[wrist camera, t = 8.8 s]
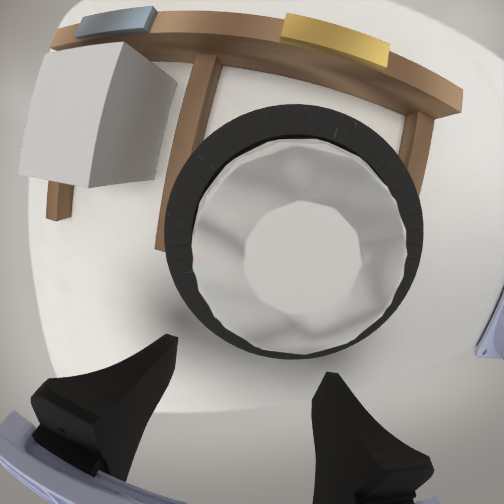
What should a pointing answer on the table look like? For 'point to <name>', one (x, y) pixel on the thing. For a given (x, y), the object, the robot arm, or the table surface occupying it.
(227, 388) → the table surface
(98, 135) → the grey plug block
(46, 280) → the table surface
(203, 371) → the table surface
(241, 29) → the wooden bench frame
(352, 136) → the push button
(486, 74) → the table surface
